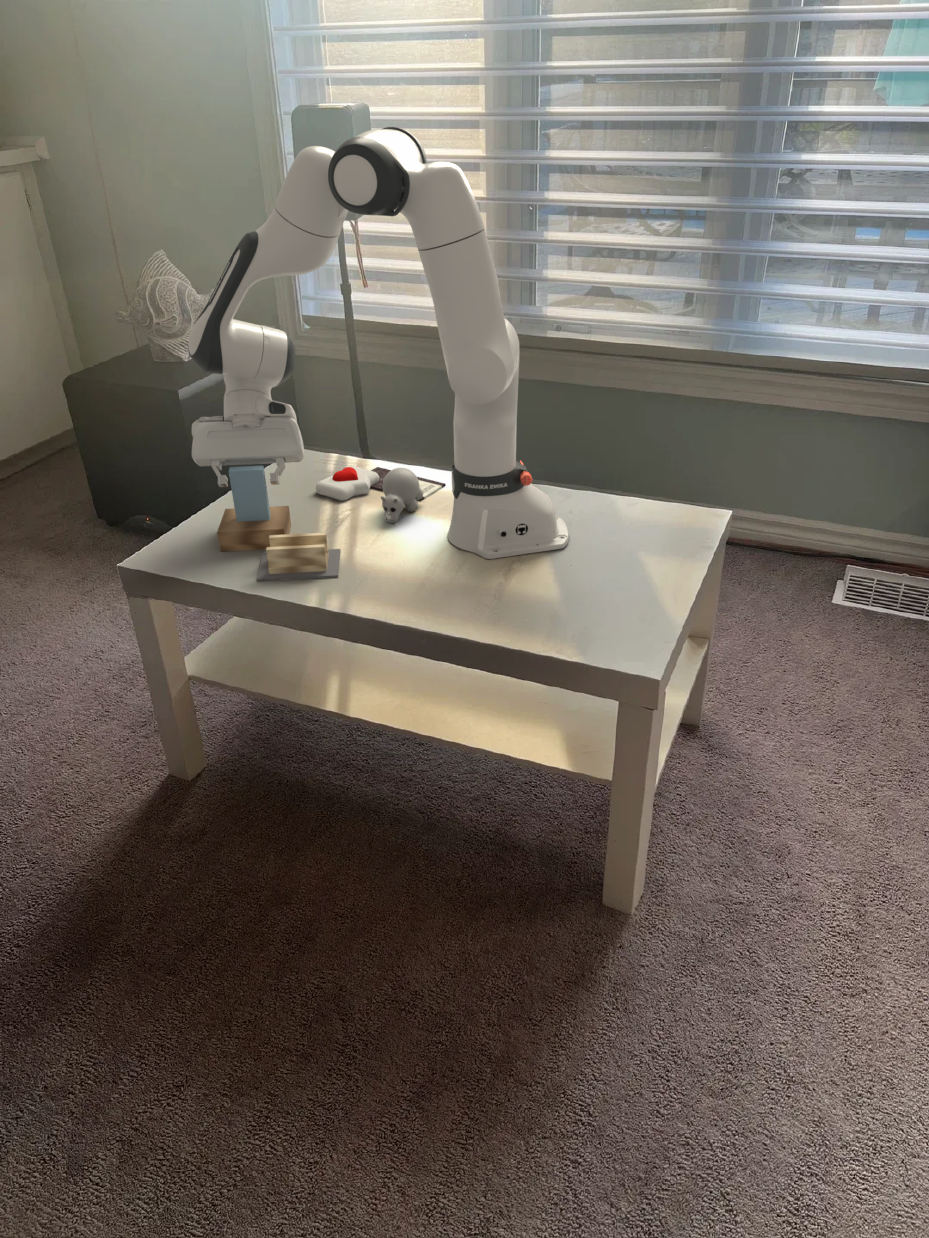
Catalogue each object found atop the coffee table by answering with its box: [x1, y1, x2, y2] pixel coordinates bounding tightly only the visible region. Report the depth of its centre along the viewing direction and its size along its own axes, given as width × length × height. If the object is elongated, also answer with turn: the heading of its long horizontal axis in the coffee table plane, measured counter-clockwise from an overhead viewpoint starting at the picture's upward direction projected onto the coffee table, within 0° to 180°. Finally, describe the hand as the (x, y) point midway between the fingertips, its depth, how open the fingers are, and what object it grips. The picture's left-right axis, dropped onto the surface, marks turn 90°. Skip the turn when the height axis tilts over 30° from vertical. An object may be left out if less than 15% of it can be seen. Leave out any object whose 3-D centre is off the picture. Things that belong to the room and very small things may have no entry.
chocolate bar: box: [370, 466, 447, 502], centre depth 193 cm, size 9×1×18 cm
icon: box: [315, 465, 379, 502], centre depth 190 cm, size 12×4×10 cm
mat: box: [255, 548, 341, 582], centre depth 163 cm, size 14×10×1 cm
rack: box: [265, 532, 329, 574], centre depth 162 cm, size 10×7×5 cm, turn 94°
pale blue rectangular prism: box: [228, 465, 271, 522], centre depth 168 cm, size 6×2×10 cm, turn 94°
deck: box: [216, 505, 292, 552], centre depth 172 cm, size 12×10×4 cm
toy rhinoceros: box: [380, 467, 423, 524], centre depth 179 cm, size 7×12×8 cm, turn 159°
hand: (248, 485), depth 168 cm, fingers open, 8 cm apart
